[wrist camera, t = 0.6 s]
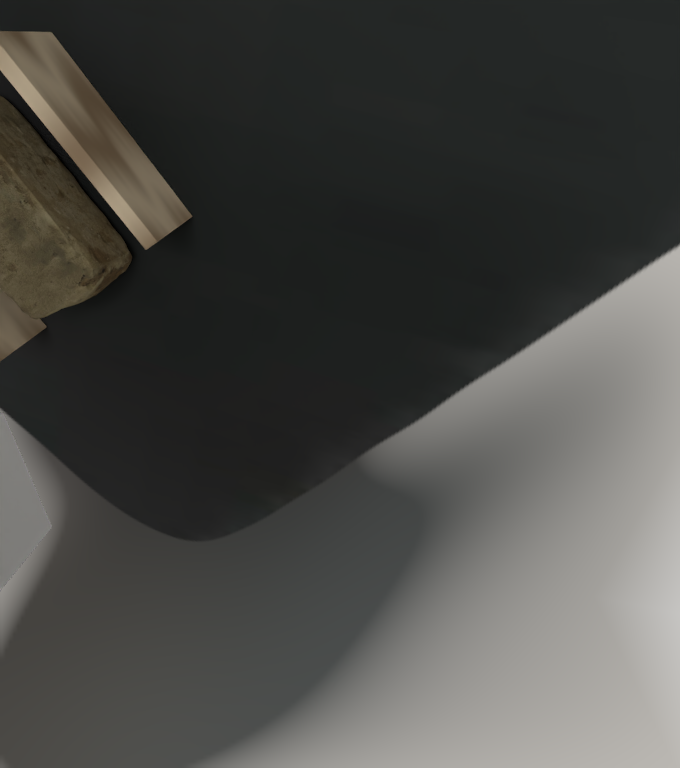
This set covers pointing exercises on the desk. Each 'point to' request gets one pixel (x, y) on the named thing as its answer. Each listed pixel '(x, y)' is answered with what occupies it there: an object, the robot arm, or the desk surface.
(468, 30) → the desk surface
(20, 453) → the robot arm
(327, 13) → the desk surface
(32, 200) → the stone block
